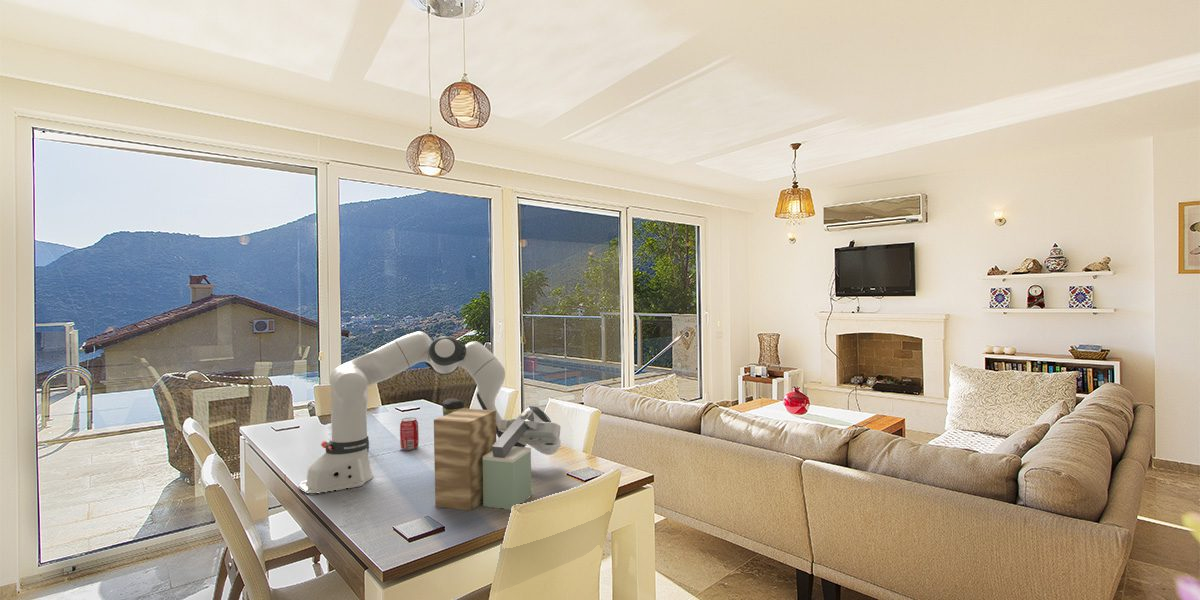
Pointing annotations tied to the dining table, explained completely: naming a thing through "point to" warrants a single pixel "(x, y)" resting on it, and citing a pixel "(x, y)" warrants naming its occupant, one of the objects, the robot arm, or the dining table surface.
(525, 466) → the block
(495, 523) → the dining table surface
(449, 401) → the coffee jar
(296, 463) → the dining table surface
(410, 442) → the soda can
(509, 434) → the grey bar with knob
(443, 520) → the dining table surface
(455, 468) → the oak stand
